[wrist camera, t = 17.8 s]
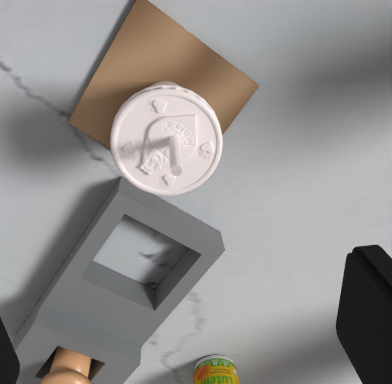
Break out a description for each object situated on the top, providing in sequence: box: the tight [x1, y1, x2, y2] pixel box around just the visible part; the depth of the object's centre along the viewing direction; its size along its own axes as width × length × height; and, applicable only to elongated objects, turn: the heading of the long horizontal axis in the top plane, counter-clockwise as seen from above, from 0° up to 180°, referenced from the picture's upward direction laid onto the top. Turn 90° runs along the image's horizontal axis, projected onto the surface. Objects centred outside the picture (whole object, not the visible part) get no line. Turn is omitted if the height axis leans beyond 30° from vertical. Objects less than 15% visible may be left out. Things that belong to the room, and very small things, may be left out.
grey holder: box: [12, 176, 225, 384], centre depth 35 cm, size 11×23×5 cm, turn 145°
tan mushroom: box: [40, 346, 92, 384], centre depth 36 cm, size 5×5×7 cm
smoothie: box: [110, 81, 223, 195], centre depth 23 cm, size 6×6×14 cm
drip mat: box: [67, 0, 259, 148], centre depth 29 cm, size 11×11×1 cm
